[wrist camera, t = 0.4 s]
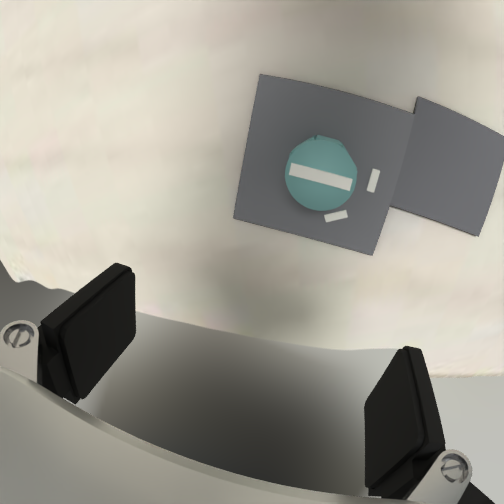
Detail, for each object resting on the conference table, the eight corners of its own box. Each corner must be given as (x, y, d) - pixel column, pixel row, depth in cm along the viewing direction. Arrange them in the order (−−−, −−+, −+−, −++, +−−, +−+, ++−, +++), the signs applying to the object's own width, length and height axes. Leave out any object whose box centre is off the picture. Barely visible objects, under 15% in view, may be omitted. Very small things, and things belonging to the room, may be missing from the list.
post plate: (260, 74, 28) (249, 67, 24) (413, 114, 26) (427, 114, 22) (234, 216, 36) (220, 232, 31) (371, 253, 34) (377, 274, 29)
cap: (286, 185, 32) (277, 201, 27) (299, 130, 30) (292, 132, 24) (342, 200, 31) (346, 219, 26) (357, 145, 29) (364, 152, 23)
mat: (417, 96, 26) (418, 96, 25) (506, 138, 24) (509, 139, 24) (388, 204, 31) (389, 205, 30) (476, 235, 29) (478, 236, 29)
